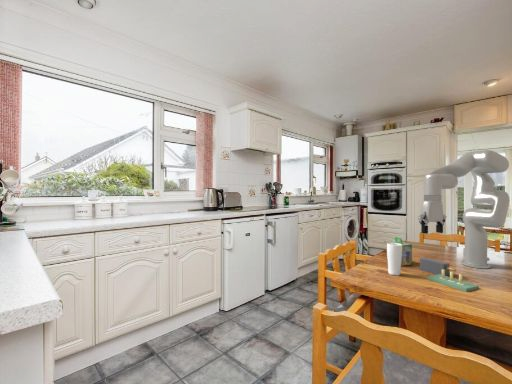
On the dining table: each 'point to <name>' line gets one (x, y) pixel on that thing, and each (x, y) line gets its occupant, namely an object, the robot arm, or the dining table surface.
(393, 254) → the white cup
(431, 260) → the block
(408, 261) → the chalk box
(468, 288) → the header strip
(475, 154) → the robot arm
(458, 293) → the dining table surface
